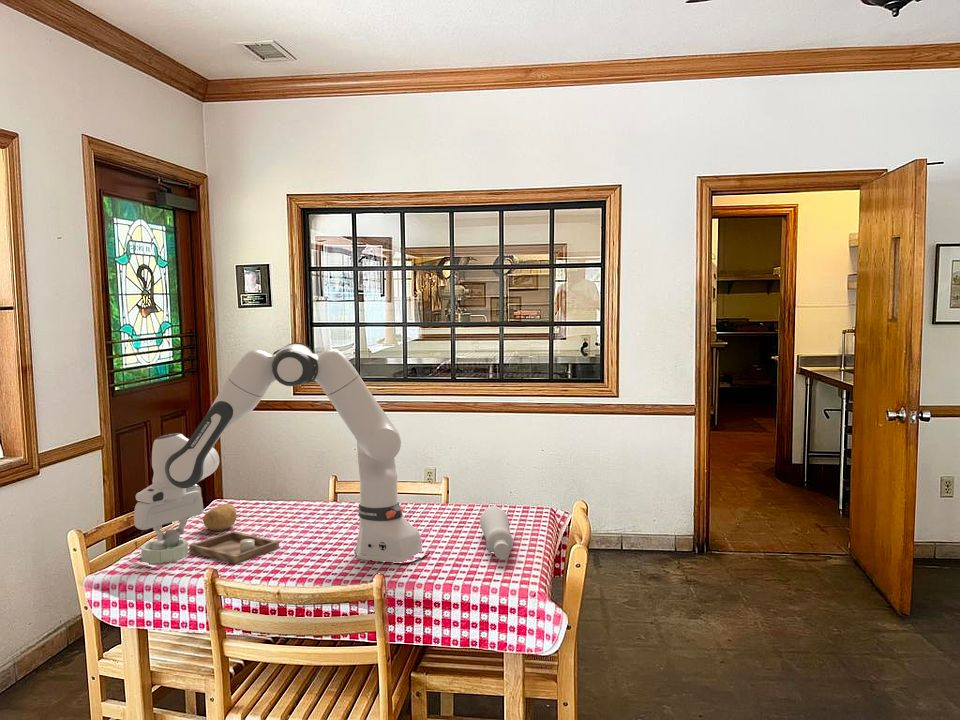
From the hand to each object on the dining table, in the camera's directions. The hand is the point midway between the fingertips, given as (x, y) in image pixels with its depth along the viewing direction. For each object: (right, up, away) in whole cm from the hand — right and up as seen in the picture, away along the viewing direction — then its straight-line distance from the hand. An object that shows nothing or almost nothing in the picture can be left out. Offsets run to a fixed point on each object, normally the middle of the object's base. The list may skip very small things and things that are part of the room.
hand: (170, 537), depth 203 cm
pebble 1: (-3, -5, +1) cm, 6 cm away
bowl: (-2, -6, 0) cm, 6 cm away
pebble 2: (0, -2, 0) cm, 2 cm away
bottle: (+94, -6, +10) cm, 95 cm away
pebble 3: (+21, -5, +3) cm, 22 cm away
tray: (+16, -6, +6) cm, 18 cm away
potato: (+4, -5, +28) cm, 29 cm away
